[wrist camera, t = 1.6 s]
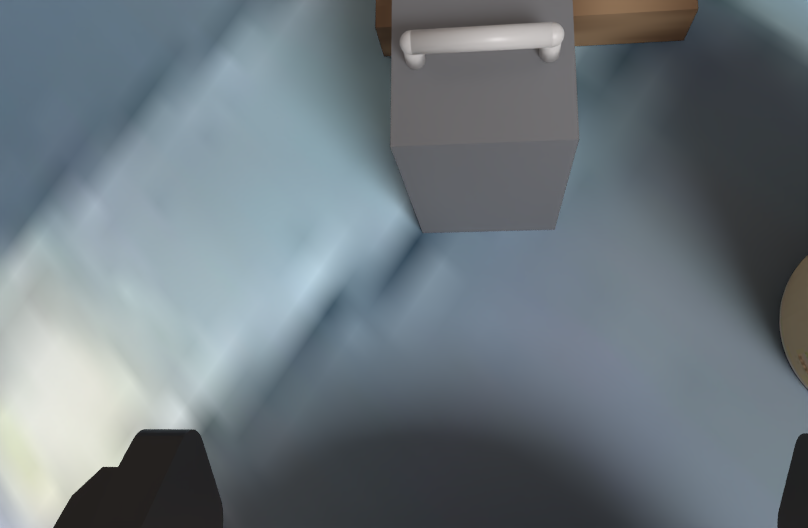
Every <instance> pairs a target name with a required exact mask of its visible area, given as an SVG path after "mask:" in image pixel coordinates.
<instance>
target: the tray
mask: <svg viewBox="0 0 808 528" xmlns="http://www.w3.org/2000/svg"><path fill="white" fill-rule="evenodd" d="M697 11H698V0H573V21H574V42H575V46H588V45H607V44H626V43H644V42H663V41H682V40H684V38H685V36H686V34H687V32H688V30H689V28H690V26H691V23H692V21H693V19H694V17H695V15H696V13H697ZM375 28H376V31H377V35H378V38H379V41H380V44H381V48H382V51H383V54H384V56H391V39H392V0H376V20H375Z"/></svg>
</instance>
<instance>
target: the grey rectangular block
mask: <svg viewBox="0 0 808 528" xmlns="http://www.w3.org/2000/svg"><path fill="white" fill-rule="evenodd" d="M578 141H579V127H578V106H577V85H576V63H575V42H574V21H573V0H392V39H391V134H390V147H391V150H392V152H393V155H394V158H395V160H396V163H397V166H398V168H399V171H400V174H401V176H402V179H403V182H404V184H405V187H406V190H407V192H408V195H409V198H410V200H411V203H412V206H413V208H414V211H415V214H416V216H417V219H418V222H419V224H420V227H421V230H422V232H423V233H445V232H484V231H523V230H555V226H556V223H557V219H558V215H559V212H560V208H561V204H562V201H563V197H564V193H565V189H566V186H567V182H568V178H569V175H570V171H571V167H572V164H573V160H574V156H575V153H576V149H577V145H578Z"/></svg>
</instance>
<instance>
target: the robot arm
mask: <svg viewBox="0 0 808 528" xmlns="http://www.w3.org/2000/svg"><path fill="white" fill-rule="evenodd" d="M53 528H223V508H222V502H221V498H220V495H219V492H218V489H217V485H216V482H215V479H214V476H213V473H212V469H211V466H210V463H209V460H208V457H207V453H206V450H205V447H204V444H203V441H202V438H201V436H200V434H199V433H198V432H197V431H196V430H172V429H144V430H141V431H140V432H139V433H138V434H137V435H136V436H135V437H134V439H133V441H132V442H131V444H130V446H129V448H128V450H127V452H126V453H125V455H124V457H123V459H122V461H121V463H120V465H119V466H118V467H102V468H101V469H100V470H99V471H98V472H97V473H96V474H95V475H94V476H93V477H92V478H91V479H89V480H88V481H87V482H86V483H85V484H84V485H83V486H82V487H81V488H80V489H79V490H78V491H77V492H76V493H74V494H73V495H72V497H71V498H70V500H69V502H68V503H67V505H66V507H65V508H64V510H63V512H62V514H61V515H60V517H59V519H58V520H57V522H56V524H55V526H54V527H53ZM778 528H808V434H807V433H806V434H801V435H800V436H799V437H798V439H797V441H796V444H795V448H794V452H793V456H792V460H791V464H790V468H789V472H788V476H787V480H786V484H785V488H784V492H783V496H782V500H781V504H780V508H779V513H778Z"/></svg>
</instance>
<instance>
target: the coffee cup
mask: <svg viewBox="0 0 808 528" xmlns="http://www.w3.org/2000/svg"><path fill="white" fill-rule="evenodd" d="M779 327H780V334H781V339H782V344H783V347H784V350H785V353H786V356H787V359H788V361H789V363H790V365H791V367H792V369H793V370H794V372H795V374H796V375H797V377H798V378H799V379H800V381H801V382H802V383H803V384H804V385H805V387H806V388H807V389H808V255H807V256H806V257H805V258H804V259H803V260H802V261H801V263H800V264H799V265H798V266H797V268H796V269H795V271H794V272H793V274H792V276H791V277H790V279H789V281H788V283H787V285H786V287H785V290H784V294H783V297H782V300H781V306H780V321H779Z"/></svg>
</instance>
